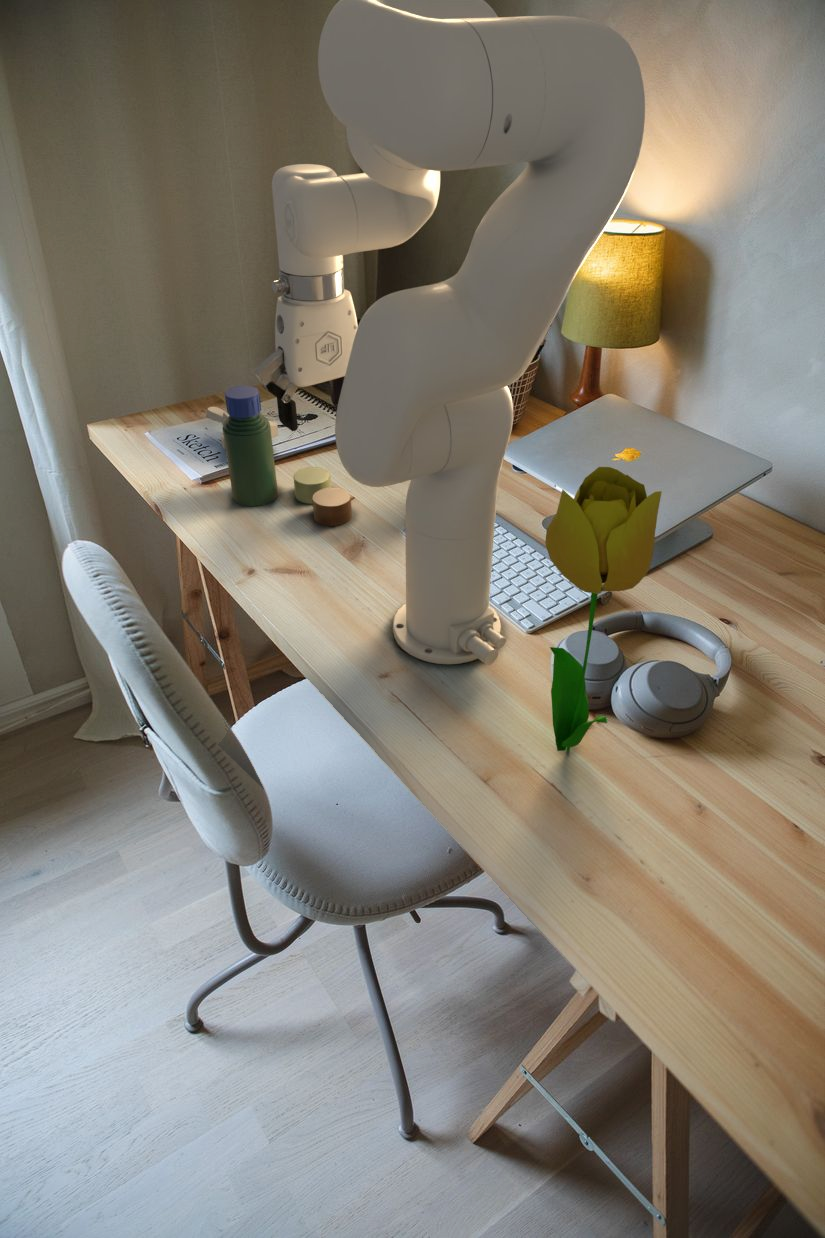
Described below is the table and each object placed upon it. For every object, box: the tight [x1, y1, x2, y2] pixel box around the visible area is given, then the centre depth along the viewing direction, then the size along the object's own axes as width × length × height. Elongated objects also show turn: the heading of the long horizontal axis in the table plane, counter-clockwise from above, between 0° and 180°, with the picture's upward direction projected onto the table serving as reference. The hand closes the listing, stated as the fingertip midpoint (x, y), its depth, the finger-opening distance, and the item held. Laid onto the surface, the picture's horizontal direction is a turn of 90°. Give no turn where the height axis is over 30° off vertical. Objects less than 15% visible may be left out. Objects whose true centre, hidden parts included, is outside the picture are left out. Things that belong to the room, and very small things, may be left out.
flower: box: [544, 466, 662, 753], centre depth 73 cm, size 9×8×30 cm
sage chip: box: [293, 466, 332, 505], centre depth 121 cm, size 5×5×3 cm
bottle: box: [221, 412, 279, 507], centre depth 117 cm, size 7×7×15 cm
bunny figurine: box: [205, 406, 279, 450], centre depth 135 cm, size 10×5×15 cm
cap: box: [224, 385, 262, 418], centre depth 113 cm, size 5×5×3 cm
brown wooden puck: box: [312, 487, 353, 527], centre depth 116 cm, size 5×5×3 cm
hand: (321, 417), depth 109 cm, fingers open, 9 cm apart
